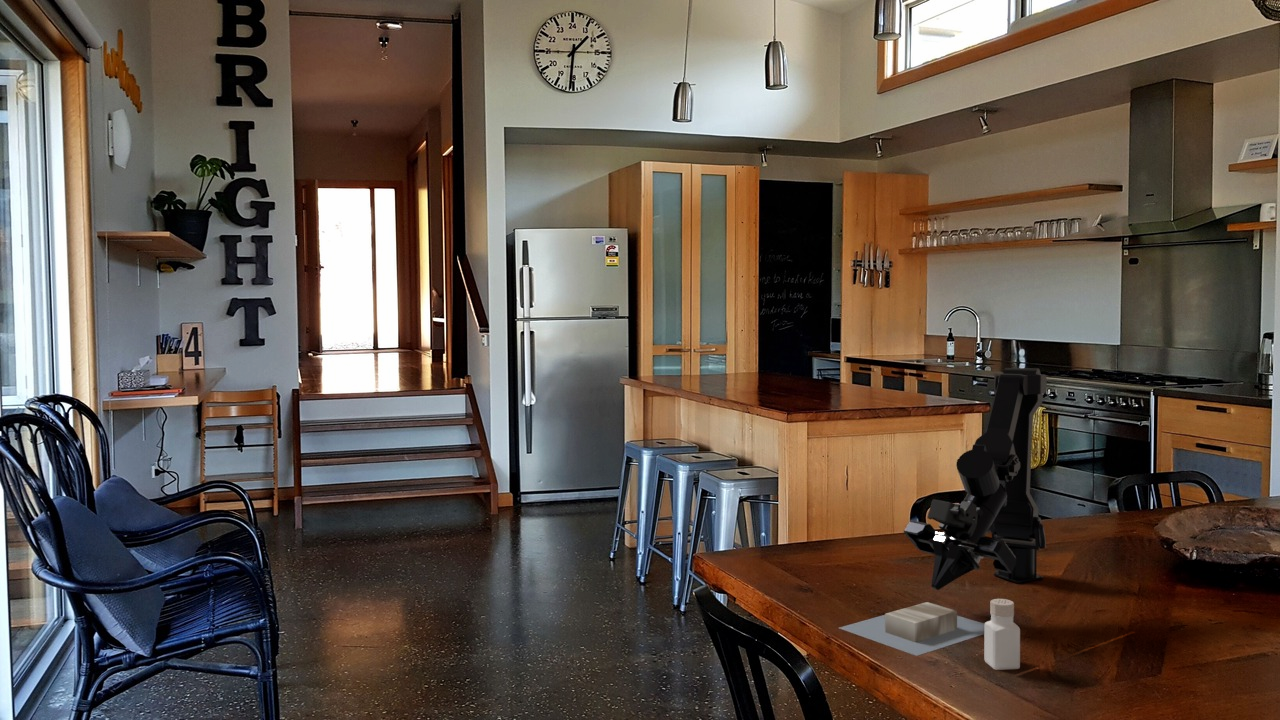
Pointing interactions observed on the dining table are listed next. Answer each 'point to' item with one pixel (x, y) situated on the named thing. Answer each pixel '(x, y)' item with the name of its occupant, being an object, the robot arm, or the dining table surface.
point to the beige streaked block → (921, 621)
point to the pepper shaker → (1002, 637)
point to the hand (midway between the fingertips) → (934, 588)
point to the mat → (876, 632)
